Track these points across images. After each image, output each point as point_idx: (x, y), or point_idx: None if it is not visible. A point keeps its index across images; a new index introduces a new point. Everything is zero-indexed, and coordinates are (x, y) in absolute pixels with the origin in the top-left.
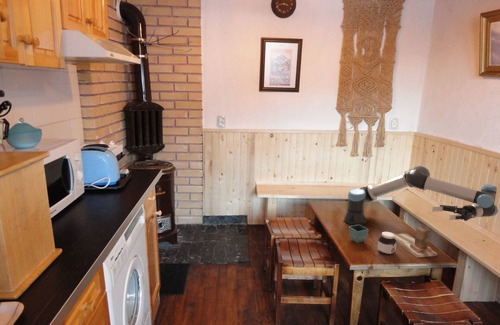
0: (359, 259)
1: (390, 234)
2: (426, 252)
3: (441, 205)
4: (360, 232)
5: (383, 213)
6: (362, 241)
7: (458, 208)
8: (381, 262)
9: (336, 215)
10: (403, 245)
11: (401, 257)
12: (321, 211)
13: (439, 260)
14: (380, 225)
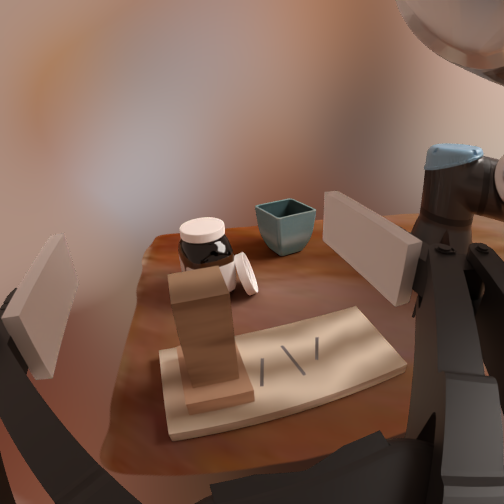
0: (171, 245)
1: (198, 229)
2: (180, 391)
3: (477, 251)
4: (260, 213)
5: None
6: (277, 253)
7: (440, 461)
8: (147, 272)
9: None
10: (255, 332)
11: (168, 316)
12: None
13: (124, 428)
14: None
